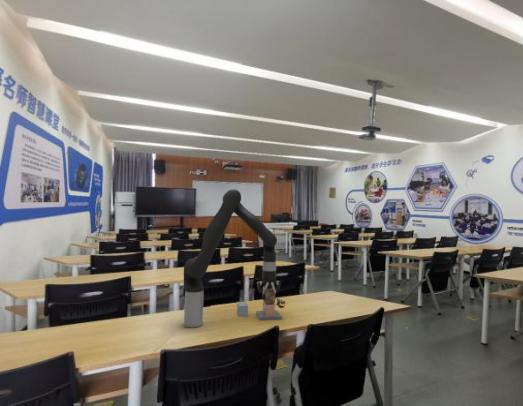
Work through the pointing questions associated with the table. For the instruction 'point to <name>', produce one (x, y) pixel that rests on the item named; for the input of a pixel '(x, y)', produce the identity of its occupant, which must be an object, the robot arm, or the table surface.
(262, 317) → the baseplate
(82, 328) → the table surface
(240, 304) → the brick slate
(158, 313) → the table surface
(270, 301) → the brick walnut
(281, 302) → the toy set
